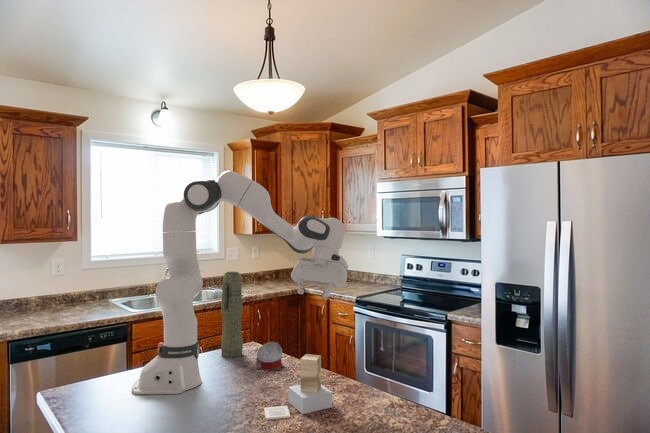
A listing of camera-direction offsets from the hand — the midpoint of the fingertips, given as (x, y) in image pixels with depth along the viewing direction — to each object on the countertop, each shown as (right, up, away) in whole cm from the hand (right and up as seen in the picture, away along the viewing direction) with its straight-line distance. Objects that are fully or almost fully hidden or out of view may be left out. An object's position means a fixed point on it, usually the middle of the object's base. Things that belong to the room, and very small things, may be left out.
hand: (312, 295), depth 150 cm
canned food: (-18, -32, +23) cm, 43 cm away
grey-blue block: (0, -32, -13) cm, 34 cm away
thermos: (-35, -32, +37) cm, 60 cm away
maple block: (0, -27, -13) cm, 30 cm away
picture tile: (-10, -31, -20) cm, 38 cm away
